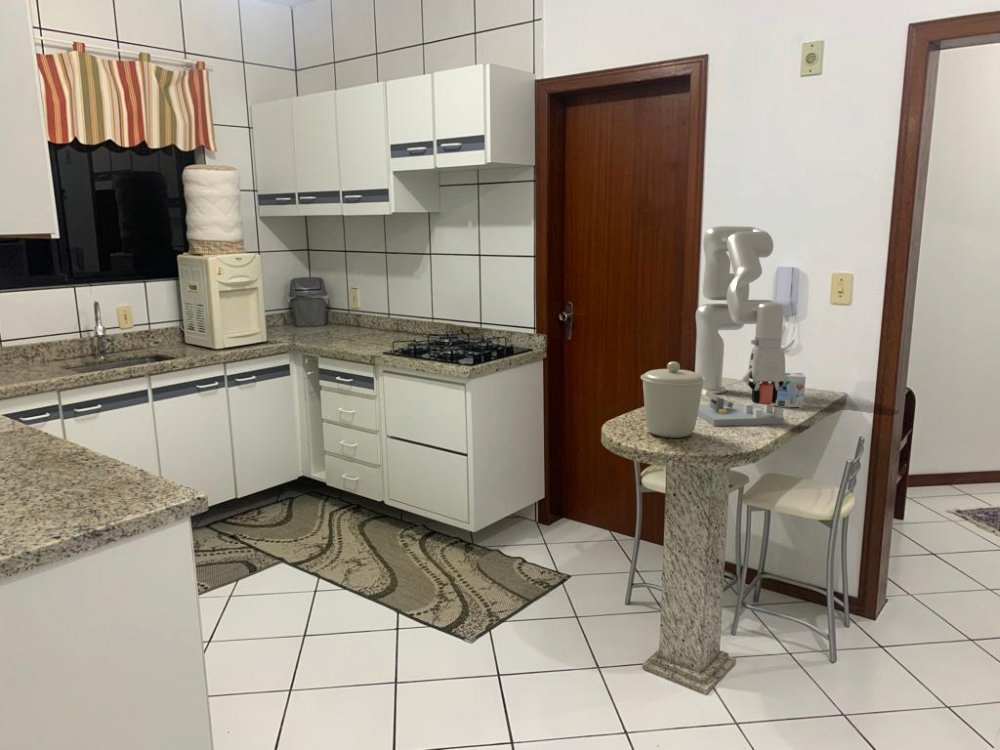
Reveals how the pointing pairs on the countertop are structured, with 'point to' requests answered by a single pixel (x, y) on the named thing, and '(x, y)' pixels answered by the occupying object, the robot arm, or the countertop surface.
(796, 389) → the light bulb box
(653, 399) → the canister
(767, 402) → the cap
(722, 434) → the countertop surface
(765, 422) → the panel
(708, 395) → the lever
